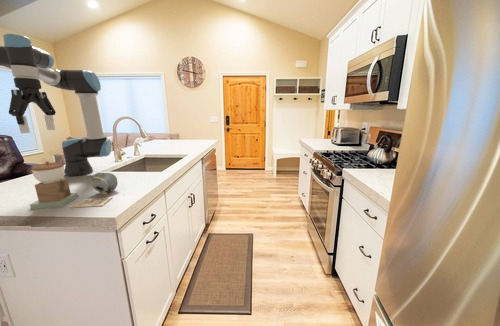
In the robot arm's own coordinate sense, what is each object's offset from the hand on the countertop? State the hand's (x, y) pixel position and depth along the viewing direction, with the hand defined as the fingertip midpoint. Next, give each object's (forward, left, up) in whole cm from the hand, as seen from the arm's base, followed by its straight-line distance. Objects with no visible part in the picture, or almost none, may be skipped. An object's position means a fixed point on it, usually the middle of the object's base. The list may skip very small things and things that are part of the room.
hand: (39, 131), depth 92 cm
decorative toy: (-9, +17, -33) cm, 38 cm away
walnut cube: (0, 0, -31) cm, 31 cm away
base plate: (0, 0, -33) cm, 33 cm away
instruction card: (+3, +17, -33) cm, 37 cm away
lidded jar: (0, 0, -23) cm, 23 cm away
